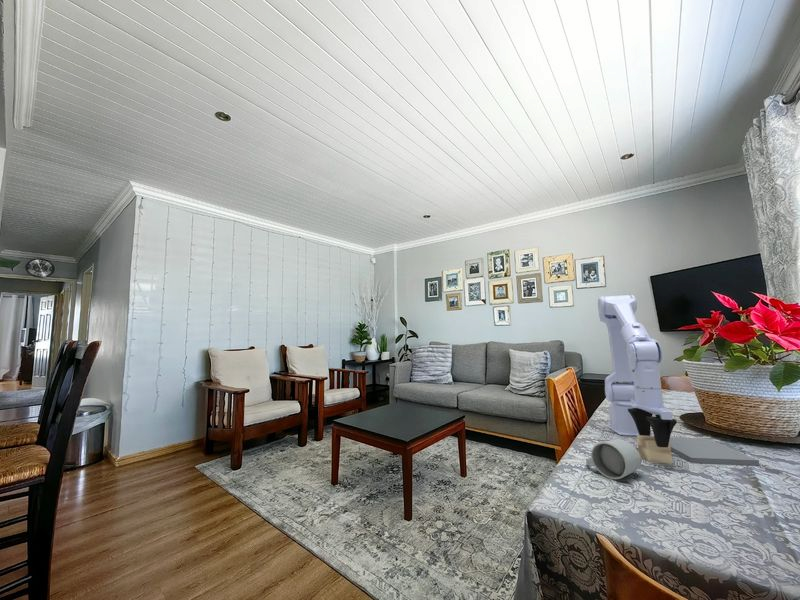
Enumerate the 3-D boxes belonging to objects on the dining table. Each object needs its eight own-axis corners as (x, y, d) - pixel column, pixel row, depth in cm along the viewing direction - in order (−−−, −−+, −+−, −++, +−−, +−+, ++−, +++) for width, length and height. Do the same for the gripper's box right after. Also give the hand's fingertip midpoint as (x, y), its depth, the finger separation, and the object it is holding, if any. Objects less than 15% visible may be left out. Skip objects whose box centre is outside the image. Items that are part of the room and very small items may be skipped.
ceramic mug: (645, 475, 73) (641, 439, 73) (628, 485, 68) (624, 447, 69) (596, 461, 81) (593, 429, 82) (579, 469, 77) (575, 435, 78)
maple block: (638, 454, 84) (636, 435, 85) (660, 455, 84) (657, 435, 84) (649, 462, 80) (647, 441, 80) (672, 463, 79) (670, 442, 79)
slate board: (653, 441, 94) (652, 436, 94) (708, 442, 91) (707, 438, 92) (691, 462, 78) (691, 457, 78) (759, 465, 76) (758, 460, 76)
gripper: (617, 383, 91) (622, 432, 90) (646, 392, 77) (652, 451, 76) (644, 383, 90) (650, 433, 88) (679, 392, 76) (686, 452, 74)
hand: (653, 441), depth 82 cm, fingers open, 7 cm apart
